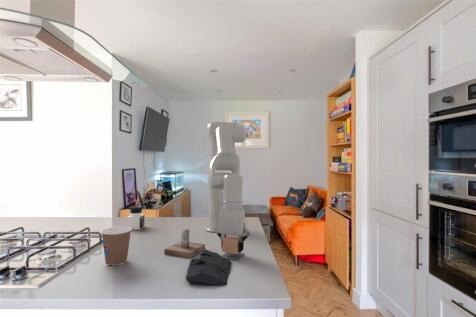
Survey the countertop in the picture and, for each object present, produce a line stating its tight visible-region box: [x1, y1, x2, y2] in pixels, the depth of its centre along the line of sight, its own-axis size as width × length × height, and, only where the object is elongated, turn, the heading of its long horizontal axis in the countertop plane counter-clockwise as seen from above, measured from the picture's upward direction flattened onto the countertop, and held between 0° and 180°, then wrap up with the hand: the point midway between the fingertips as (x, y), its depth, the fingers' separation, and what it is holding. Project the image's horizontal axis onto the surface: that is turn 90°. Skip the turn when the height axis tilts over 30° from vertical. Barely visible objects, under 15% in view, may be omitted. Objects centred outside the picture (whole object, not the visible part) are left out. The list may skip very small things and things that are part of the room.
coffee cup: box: [100, 226, 133, 267], centre depth 100 cm, size 10×10×12 cm
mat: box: [221, 252, 245, 262], centre depth 107 cm, size 8×7×1 cm
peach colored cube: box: [221, 235, 239, 254], centre depth 107 cm, size 6×6×5 cm
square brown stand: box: [163, 228, 206, 259], centre depth 112 cm, size 12×12×9 cm
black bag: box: [185, 249, 232, 287], centre depth 92 cm, size 15×22×5 cm
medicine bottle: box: [126, 205, 145, 231], centre depth 151 cm, size 7×7×12 cm
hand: (232, 250), depth 107 cm, fingers open, 6 cm apart
